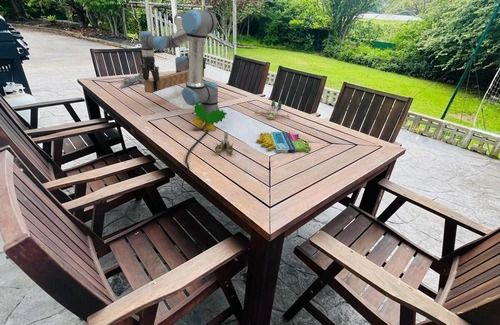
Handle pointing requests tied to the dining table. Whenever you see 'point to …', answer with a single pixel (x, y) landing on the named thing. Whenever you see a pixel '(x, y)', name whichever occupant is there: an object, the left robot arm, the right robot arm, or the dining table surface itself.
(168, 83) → the post
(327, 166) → the dining table surface
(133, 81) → the airplane
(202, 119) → the ornament
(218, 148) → the jawbone
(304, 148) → the sign
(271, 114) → the toy
